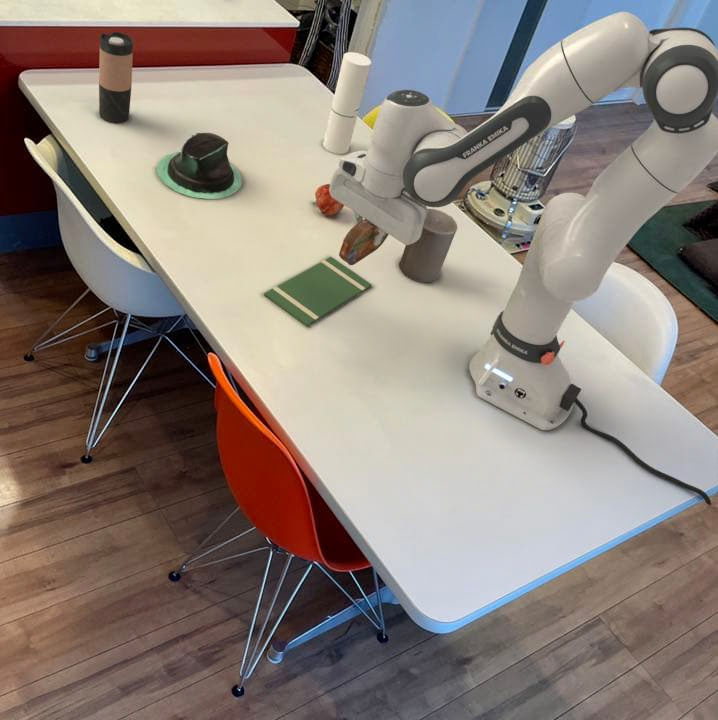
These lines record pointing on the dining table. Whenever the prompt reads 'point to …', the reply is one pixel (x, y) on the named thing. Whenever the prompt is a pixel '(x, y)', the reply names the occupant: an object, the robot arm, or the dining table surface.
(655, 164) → the robot arm
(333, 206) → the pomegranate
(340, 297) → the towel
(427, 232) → the pillar candle
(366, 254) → the tin
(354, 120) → the cylindrical container
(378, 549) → the dining table surface
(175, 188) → the hat
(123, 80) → the travel mug
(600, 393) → the dining table surface
